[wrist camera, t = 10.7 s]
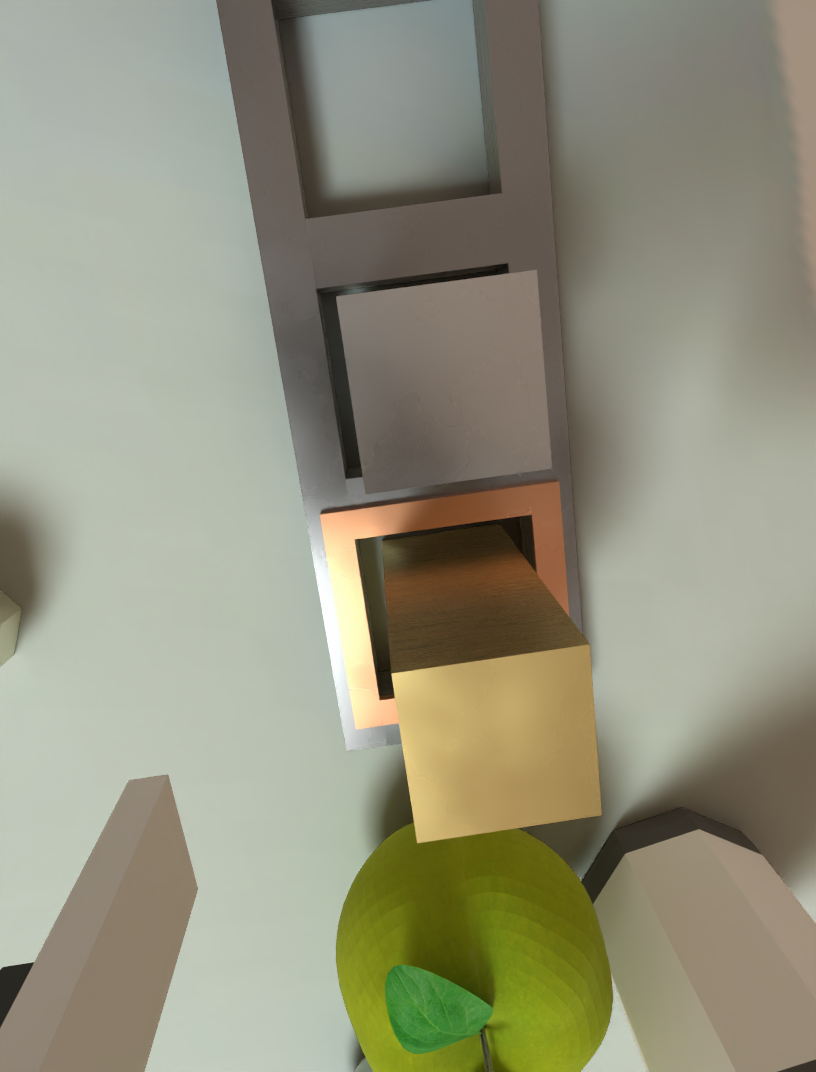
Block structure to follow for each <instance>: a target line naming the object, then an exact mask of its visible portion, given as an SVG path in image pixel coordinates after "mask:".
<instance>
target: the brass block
mask: <svg viewBox="0 0 816 1072" xmlns="http://www.w3.org/2000/svg"><path fill="white" fill-rule="evenodd" d="M382 552H383V566H384V580H385V594H386V607H387V621H388V635H389V649H390V663H391V675H392V682H393V688H394V695H395V701H396V708H397V714H398V721H399V727H400V734H401V741H402V747H403V754H404V760H405V767H406V773H407V780H408V786H409V793H410V799H411V806H412V812H413V819H414V826H415V832H416V839H417V843H422V842H429V841H436V840H442V839H449V838H455V837H462V836H469V835H475V834H482V833H488V832H495V831H502V830H508V829H515V828H521V827H528V826H535V825H541V824H548V823H554V822H561V821H568V820H574V819H581V818H587V817H594V816H601V815H602V810H601V796H600V782H599V768H598V754H597V740H596V726H595V711H594V697H593V683H592V669H591V655H590V644H589V643H588V641H587V640H586V639H585V637H584V636H583V635H582V633H581V632H580V631H579V629H578V628H577V627H576V625H575V624H574V623H573V621H572V620H571V619H570V617H569V616H568V615H567V613H566V612H565V611H564V609H563V608H562V607H561V605H560V604H559V603H558V601H557V600H556V599H555V597H554V596H553V595H552V593H551V592H550V591H549V589H548V588H547V587H546V585H545V584H544V583H543V581H542V580H541V579H540V577H539V576H538V575H537V573H536V572H535V571H534V569H533V568H532V567H531V565H530V564H529V562H528V561H527V560H526V558H525V557H524V556H523V554H522V553H521V552H520V550H519V549H518V548H517V546H516V545H515V544H514V542H513V541H512V540H511V538H510V537H509V536H508V534H507V533H506V532H505V530H504V529H503V528H502V526H501V525H500V524H495V525H488V526H481V527H474V528H467V529H460V530H453V531H446V532H439V533H432V534H425V535H418V536H411V537H404V538H397V539H390V540H383V541H382Z"/></svg>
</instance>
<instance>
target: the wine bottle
mask: <svg viewBox="0 0 816 1072" xmlns="http://www.w3.org/2000/svg"><path fill="white" fill-rule="evenodd" d="M581 883H582V884H583V886H584V888H585V889H586V891H587V893H588V895H589V897H590V899H591V902H592V904H593V907H594V909H595V912H596V915H597V918H598V921H599V925H600V928H601V932H602V935H603V939H604V943H605V948H606V952H607V956H608V961H609V965H610V971H611V978H612V983H613V986H614V989H615V991H616V994H617V996H618V999H619V1002H620V1004H621V1007H622V1009H623V1012H624V1015H625V1017H626V1020H627V1022H628V1025H629V1028H630V1030H631V1033H632V1035H633V1038H634V1041H635V1043H636V1046H637V1048H638V1051H639V1054H640V1056H641V1059H642V1061H643V1064H644V1067H645V1069H646V1072H816V923H815V922H814V921H813V919H812V918H811V917H810V916H809V914H808V913H807V912H806V910H805V909H804V908H803V907H802V905H801V904H800V903H799V901H798V900H797V899H796V898H795V896H794V895H793V894H792V892H791V891H790V890H789V889H788V887H787V886H786V885H785V883H784V882H783V881H782V880H781V878H780V877H779V876H778V874H777V873H776V872H775V871H774V869H773V868H772V867H771V865H770V864H769V863H768V862H767V860H766V859H765V858H764V856H763V855H762V854H761V853H760V852H759V850H758V849H757V848H756V847H755V845H754V844H753V843H752V842H751V841H750V840H749V839H748V838H747V837H746V836H745V835H744V834H743V833H742V832H740V831H738V830H735V829H733V828H730V827H728V826H726V825H723V824H721V823H718V822H716V821H714V820H711V819H709V818H706V817H704V816H701V815H699V814H697V813H694V812H692V811H689V810H687V809H684V808H679V809H676V810H673V811H670V812H667V813H664V814H661V815H658V816H655V817H652V818H649V819H646V820H643V821H640V822H637V823H634V824H631V825H628V826H625V827H622V828H619V829H616V830H614V831H613V833H612V834H611V836H610V837H609V839H608V840H607V842H606V844H605V845H604V847H603V848H602V850H601V852H600V853H599V855H598V856H597V858H596V860H595V861H594V863H593V864H592V866H591V868H590V869H589V871H588V872H587V874H586V876H585V877H584V879H583V880H582V882H581Z"/></svg>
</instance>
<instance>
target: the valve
mask: <svg viewBox="0 0 816 1072" xmlns="http://www.w3.org/2000/svg"><path fill="white" fill-rule="evenodd" d="M21 610H22V609H21V608H20V607H19V606H18V605H17V604H16V603H15V602H14V601H12V600H11V599H10V598H9V597H7V596H6V595H5V594H4V593H3V592H1V591H0V667H1V666H2V665H3V664H4V663H5V662H7V661H8V660H9V659H10V658H11V657H12V656H13V655H14V652H15V648H16V642H17V636H18V630H19V624H20V618H21Z"/></svg>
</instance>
